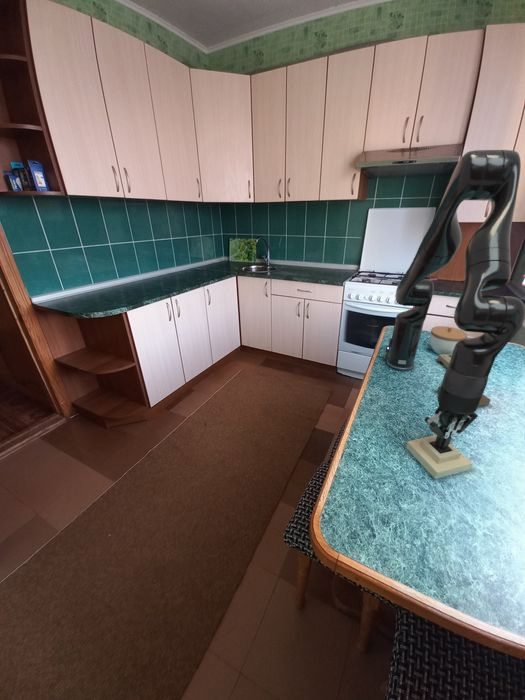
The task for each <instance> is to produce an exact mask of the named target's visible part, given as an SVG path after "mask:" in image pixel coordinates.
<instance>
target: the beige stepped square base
mask: <svg viewBox="0 0 525 700" xmlns="http://www.w3.org/2000/svg"><path fill="white" fill-rule="evenodd" d="M436 438H437V435H436V434H434V435H430V436H425V437H421V438H416V439H411V440H408V441H407V442H406V445H405V449H407V451H408V452H409V453H410V454H411V455H412V456H413V457H414V458H415V459H416V460H417V462H418V463H420V465H421V466H422V467H423V468H424V469H425V470H426V471H427V473H429V474H430V476H431V477H432V478H433V479H434V480H437V479H441V478H444V477H448V476H451V475H455V474H456V475H457V474H459V473H463V472H466V471H467V472H468V471H470V470H471V469H472V467H473V465H474V463H473V462H472V461H471V460H470V459H469V458H468V457H467V456H465V455H464V454H463V453H462V452H461V451H460V450H459V449H458V448H456V446H454V445H453V444H452V443H451V442H450V444H449V445H448V447H449V448H450V449H451V451H450V452H446V453H442V454H440V453H439V452H438V451H437V450H436V449H435V448H434V447H433V446H432V445H431V444H430V443H431V442H435V441H436Z"/></svg>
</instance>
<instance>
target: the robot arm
mask: <svg viewBox="0 0 525 700" xmlns="http://www.w3.org/2000/svg"><path fill="white" fill-rule="evenodd" d="M521 162H522V161H521V156H520V154H519V153H518V151H516V150H512V149H476V150H469V151H467V152H465V153H464V154H463V155H462V156H461V157H460V159H459V161H458V162H457V164H456V166H455V167H454V170H453V172H452V174H451V177H450V178H449V180H448V181H449V182H448V184H447V186H446V189H445V191H444V194H443V195H442V196H443V197H442V199H441V201H440V203H439V206H438V209H437V211H436V213H435V215H434V217H433V219H432V221H431V223H430V225H429V227H428V228H427V231H426V233H425V234H424V236H423V238H422V241H421V242H420V244H419V247H418V248H417V250H416V253H415V255H414V258H412V259H413V260H412V261H411V263H410V265H409V267H408V268H407V270H406V271H405V273H404V275H403V277H402V278H401V279H400V281H399V283H398V285H397V287H396V290H395V301H396V303H397V304H398V305H400V306H404V307H411V308H410V309H408V310H407V309H406V310H404V311H401V312H399V313H397V314H396V316H395V320H394V326H393V330H392V335H391V338H389V342H388V345H386V346H385V347H386V348H385V353H386V357H385V361H386V364H387V366H389V367H390V368H391V369H395V370H398V371H410V370H412V369H413V368H414V364H415V359H416V357H417V356H416V355H417V351H418V347H419V343H420V339H421V336H422V331H423V328H424V325H425V321H426V319H427V317H428V316H427V315H428V311H429V310H430V305H431V302H432V300H433V297H434V289H435V285H434V282H433V280H432V279H429V278H428V277H429V276H432V275H434V274H435V273H437V272H439V271H441V270H442V269H443V268H445V267H446V266H447V265H448V264H449V263H450V262H451V261H452V259H453V258H454V256H455V255H456V253H457V251H458V250H459V249H460V247H461V245H462V241H463V234H462V229H461V225H460V223H459V219H458V209H459V207H460V205H461V204H462V203H463V202H464V201H482V202H483V201H490V205H491V207H490V212H489V214H488V215H487V217H486V219H485V220H484V221H483V222H482V224H481V225H480V226H479V227H478V228H477V230H476V231H475V232H474V234H473V235H472V236H471V238H470V240H469V241H468V242H467V243H468V244H467V246H466V250H465V261H464V262H465V263H464V267H465V268H464V269H465V271H464V276H465V277H464V283H463V288H462V290H461V292H460V293H461V294H460V297H459V299H458V302H457V304H456V307H455V309H454V313H453V320H454V323H455V325H456V326H457V329H460V330H462V331H464V332H469V333H481V335H480V336H476V337H470V338H466V339H463V340H460V341H458V342H457V343H456V345H455V348H454V350H453V354H452V357H451V360H450V363H449V366H448V368H446V370H445V372H444V374H443V378H442V381H441V385H440V386H439V387H440V390H439V393H437V398H436V399H437V402H438V407H437V408H436V409H435V412H434V415H433V416H431V417H430V416H426V417H425V418H424V422H425V423H426V425H427V426H428V428H429V430H430V431H431V432H432V433H434V435H437V438H436V441H435V443H436V445H437V446H439V447H440V448H441V449H445V448H448V445H449V444H450V443H451V441H452V438H454V437H455V436H456V434H462V433H463V431H465V430H466V429H467V428H468V427H469V426H470V425H471V424H472V423H473V422H474V421H475V420H476V419H477V418H478V414H477V413H476V412H477V410H478V408H479V407H478V405H479V403H480V400H481V398H482V395H484V392H485V390H486V387H487V386H488V385H487V384H488V381H489V375H490V373H491V371H492V368H493V366H494V363H495V361H496V358H497V357H498V355H499V354H500V353H501V352H502V350H503V349H504V348H505V347H506V346H507V345H508V343H509V342H510V341H511V340H512V338H513V337H514V336H515V335H517V333H518V332H519V330H520V329H521V327H522V326H523V324H524V322H525V304H524V302H523V301H522V300H521V299H520V298H518V297H515V296H509V295H507V296H506V295H488V294H487V295H486V294H482V292H485V291H490V290H494V289H498V288H501V287H503V286H505V285H506V284H507V283H509V281H510V279H511V276H512V275H511V274H512V267H511V265H512V264H511V233H512V232H511V231H512V224H513V219H514V213H515V208H516V203H517V198H518V197H517V196H518V189H519V183H520V177H521V169H522V163H521Z"/></svg>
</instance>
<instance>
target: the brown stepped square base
mask: <svg viewBox="0 0 525 700" xmlns="http://www.w3.org/2000/svg"><path fill="white" fill-rule="evenodd" d="M440 387H441V386H438V387H437V391H436V393H437V394H438V393H439V390H440ZM491 401H492V399H491V398H489V397H488V396H486V395H484V394H483V395H482V398H481V400H480V403H479V405H478V408H482V407H483V408H484V407H487V406H489V405H490V403H491Z"/></svg>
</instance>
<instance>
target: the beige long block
mask: <svg viewBox="0 0 525 700" xmlns="http://www.w3.org/2000/svg"><path fill="white" fill-rule="evenodd" d="M451 357H452V355H448V354H440V355H439V354H438V356H437V358H436V361H437V362H438V363H439V364H440V365H441V366H442V367H444V368H445V369H447V368H448V366H449V363H450V360H451Z"/></svg>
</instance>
